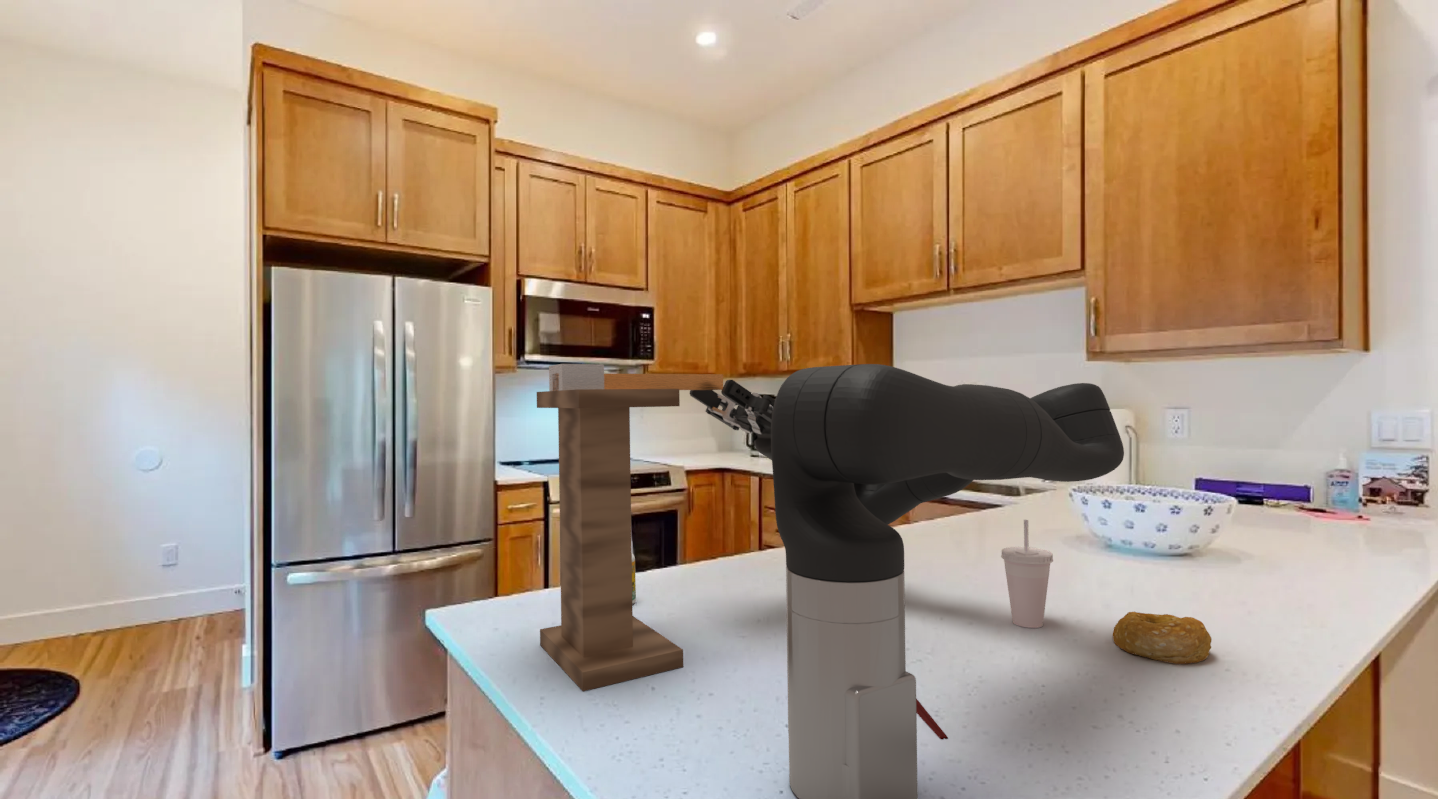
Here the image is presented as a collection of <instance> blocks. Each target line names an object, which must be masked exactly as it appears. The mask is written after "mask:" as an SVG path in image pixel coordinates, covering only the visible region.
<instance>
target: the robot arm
mask: <svg viewBox="0 0 1438 799" xmlns="http://www.w3.org/2000/svg"><path fill="white" fill-rule="evenodd" d="M689 395H690V397H692V398H693V399H695V400H696V401H698V402H700V403H701V404H703V405H704V406H705V407H706V408H705V413H706V414H708V415H710V416H712V417H713V418H714V419H717V420H718V421H720V422H722V424H725V425H726V426H728V427H729V428H731V429H732V430H734V431H739V430H740V431H742V432H745V433H748V434H752V433H753V438H754V441H753V442H754V443H753V444H754V447H755V449H756V451H757V452H758V453H760V454H761V455H762V456H764V457H766V458H767V459H769V460H770V461H771V464H772V467H771V468H772V479H773V480H772V482H773V490H774V491H773V494H774V496H773V497H774V512H775V520H776V527H777V531H778V533H779V537H780V538H781V540H782V544H783V546H784V551H785V565H786V567H785V573H786V574H785V577H786V579H785V581H786V582H785V583H786V584H785V586H786V595H785V596H786V655H787V656H786V657H787V659H786V662H787V664H786V667H787V670H786V673H787V676H786V678H787V728H788V730H787V731H788V732H787V733H788V768H789V770H788V773H789V774H788V776H789V777H788V778H789V779H788V780H789V785H790V788H791V790H792V792H793V793H794V795H795V796H796V798H798V799H919V798H918V796H919V795H918V793H919V791H918V739H917V738H918V735H917V734H918V733H917V732H918V730H917V728H918V726H917V713H916V699H917V678H916V676H915V675H914V674H913V673H910V672H909V671H907V669H906V666H907V664H906V663H907V662H906V614H905V613H906V610H905V609H906V600H905V599H906V597H905V596H906V594H905V590H906V589H905V586H906V585H905V582H906V581H905V545H904V541H903V538H902V536H901V534H900V532H898V531H897V530H896V529H895V528H894V527H893V526H891V525H890V524H891V523H893V522H895V521H897V520H899V519H900V518H901V517H903V516H904V515H906V514H907V513H909V512H910V511H912V510H913V509H915V508H916V507H918V506H919V505H921V504H923V503H927V502H931V501H934V500H937V499H940V498H945V497H949V496H951V495H954V494H957V493H958V492H960V491H962V490H963V489H965V488H966V487H968V486H969V485H971V483H973V481H1001V480H1002V481H1003V480H1012V479H1021V478H1022V479H1023V478H1034V479H1039V480H1044V481H1045V480H1046V481H1053V482H1064V483H1067V482H1069V483H1071V482H1083V481H1090V480H1094V479H1096V478H1101V477H1104V476H1106V475H1108V474H1110V473H1111V472H1113V471H1115V470H1116V469H1118V467H1119V466H1121V464H1122V462H1123V460H1124V457H1125V450H1124V449H1125V448H1124V444H1123V441H1122V438H1121V436H1120V433H1119V429H1118V428H1117V424H1116V422H1115V419H1114V417H1113V413H1112V410H1111V409H1110V406H1109V403H1108V400H1107V398H1106V396H1105V393H1104V392H1103V390H1102V388H1101V387H1100V386H1099V385H1097V384H1094V383H1089V382H1078V383H1071V384H1068V385H1067V384H1066V385H1061V386H1058V387H1055V388H1051V389H1049V390H1046V391H1043V392H1041V393H1039V394H1036V395H1034V396H1032V397H1028V396H1027V395H1025V394H1023V393H1021V392H1020V391H1019V392H1018V391H1015V390H1013V389H1009V388H1004V387H998V386H992V385H986V384H985V385H984V384H969V383H966V384H965V383H964V384H962V383H961V384H958V385H947V384H943V383H941V382H938V381H935V380H932V379H929V378H926V377H923V376H921V375H918V374H916V373H913V372H911V371H908V370H904V369H901V368H898V367H895V366H892V365H891V366H890V365H886V364H879V363H861V364H845V365H831V366H830V365H827V366H814V367H806V368H802V369H799V370H796V371H795V372H793V373H792V374H790V375H789V376H788V377H787V378H786V379H785V380H784V381H783V383H782V384H781V386H780V388H779V389H778V392H777V394H776V397H775V399H774V398H773V397H772V396H770V395H768V394H763V397H762V396H761V395H760V394H759V393H757V392H752V391H750V390H748V389H747V388H745V387H744V386H742V385H741V384H739V383H738V382H736V381H735V380H733V379H727V380H726V381H725V383H723V389H722V390H721V394H720V393H718V392H716V391H715V390H689ZM736 406H737V407H736ZM719 407H721V409H720V408H719ZM735 407H736V408H735Z"/></svg>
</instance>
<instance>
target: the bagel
mask: <svg viewBox="0 0 1438 799" xmlns="http://www.w3.org/2000/svg"><path fill="white" fill-rule="evenodd" d="M1112 639H1113V643H1114V644H1115V646H1117V647H1118V648H1119V649H1121V650H1123V651H1125V652H1126V653H1128V654H1131V655H1136V656H1140V657H1143V658H1147V659H1151V660H1154V661H1160V662H1164V663H1169V664H1176V665H1177V664H1178V665H1185V664H1186V665H1188V664H1196V663H1200V662H1202V661H1204V660H1206V659H1207V658H1208V656H1210V650H1211V649H1212V644H1211V643H1212V637H1211V634H1210V632H1209V631H1208V630H1207V628H1206V626H1205V624H1204V623H1203V622H1202V621H1201V620H1199V619H1197V618H1195V617H1192V616H1184V617H1178V616H1176V615H1173V614H1168V613H1164V614H1159V613H1158V614H1155V613H1146V612H1145V613H1144V612H1138V611H1137V612H1136V611H1129V612H1127V613H1126V614H1125V615H1124V616H1123V617H1121V618H1120V619H1118V621H1117V623H1116V624H1115V625H1114V626H1113V631H1112Z"/></svg>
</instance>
